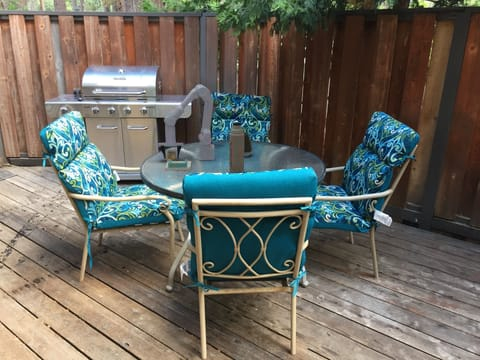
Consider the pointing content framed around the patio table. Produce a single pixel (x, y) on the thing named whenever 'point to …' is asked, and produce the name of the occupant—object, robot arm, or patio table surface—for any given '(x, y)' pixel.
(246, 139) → the pump dispenser
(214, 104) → the solar garden light
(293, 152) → the patio table surface
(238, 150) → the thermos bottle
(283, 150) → the patio table surface
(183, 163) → the dock
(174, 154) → the cardboard box
